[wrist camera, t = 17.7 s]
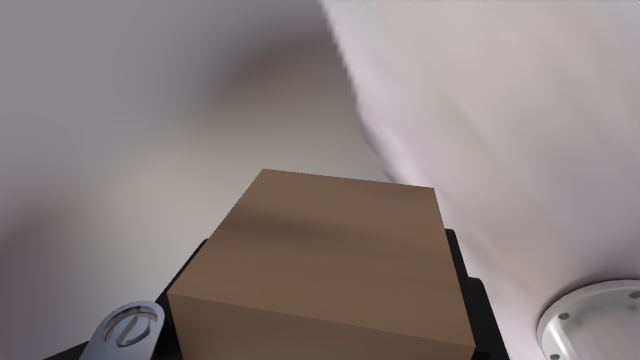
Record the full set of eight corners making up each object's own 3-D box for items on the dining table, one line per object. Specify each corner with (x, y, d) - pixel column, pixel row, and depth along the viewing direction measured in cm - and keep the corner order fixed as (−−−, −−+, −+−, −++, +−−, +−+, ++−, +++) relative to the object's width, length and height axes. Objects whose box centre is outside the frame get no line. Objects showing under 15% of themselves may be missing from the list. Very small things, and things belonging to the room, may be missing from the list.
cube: (405, 312, 12) (417, 495, 7) (269, 289, 12) (204, 444, 8) (433, 188, 9) (475, 346, 5) (263, 168, 10) (166, 292, 6)
